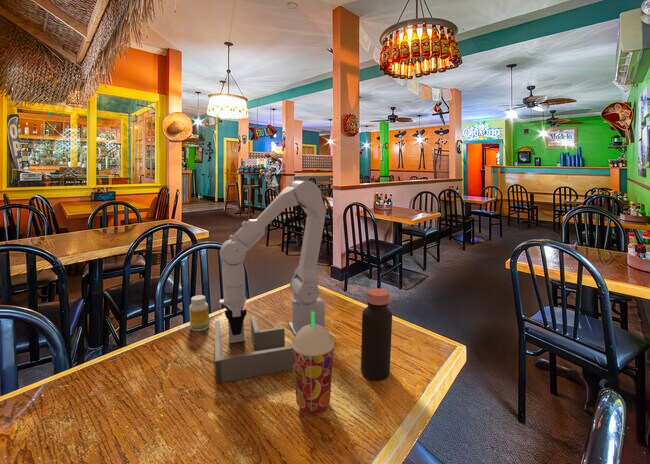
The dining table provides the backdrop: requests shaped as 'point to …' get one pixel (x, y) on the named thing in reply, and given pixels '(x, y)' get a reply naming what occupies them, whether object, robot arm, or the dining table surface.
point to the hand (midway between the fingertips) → (236, 330)
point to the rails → (254, 355)
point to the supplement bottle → (199, 313)
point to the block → (236, 337)
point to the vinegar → (376, 336)
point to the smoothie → (313, 367)
